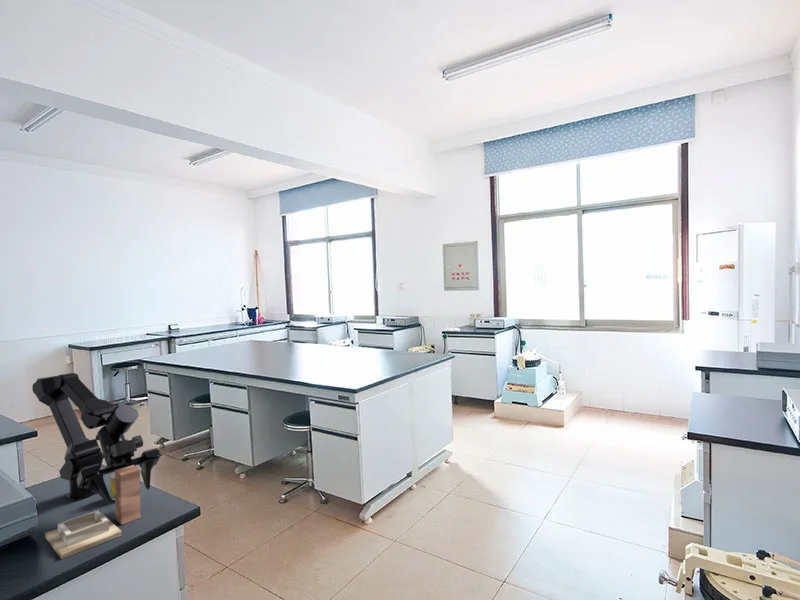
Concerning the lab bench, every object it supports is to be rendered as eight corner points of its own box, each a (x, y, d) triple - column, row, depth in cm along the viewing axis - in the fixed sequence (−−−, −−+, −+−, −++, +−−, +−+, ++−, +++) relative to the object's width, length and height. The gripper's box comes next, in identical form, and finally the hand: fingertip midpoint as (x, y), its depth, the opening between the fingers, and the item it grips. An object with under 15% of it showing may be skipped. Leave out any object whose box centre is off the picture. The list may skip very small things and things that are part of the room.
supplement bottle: (129, 499, 124) (129, 466, 123) (108, 502, 122) (107, 469, 122) (135, 491, 129) (134, 459, 129) (114, 493, 127) (114, 461, 127)
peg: (115, 519, 113) (114, 470, 113) (134, 512, 117) (133, 465, 116) (121, 524, 110) (120, 474, 110) (140, 517, 114) (139, 469, 114)
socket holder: (45, 537, 105) (44, 522, 105) (102, 516, 114) (102, 503, 114) (61, 559, 96) (61, 543, 96) (121, 535, 105) (121, 521, 105)
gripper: (79, 437, 108) (94, 493, 101) (157, 419, 123) (175, 467, 116) (70, 460, 113) (84, 515, 107) (147, 441, 128) (163, 488, 121)
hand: (129, 495), depth 112 cm, fingers open, 9 cm apart
